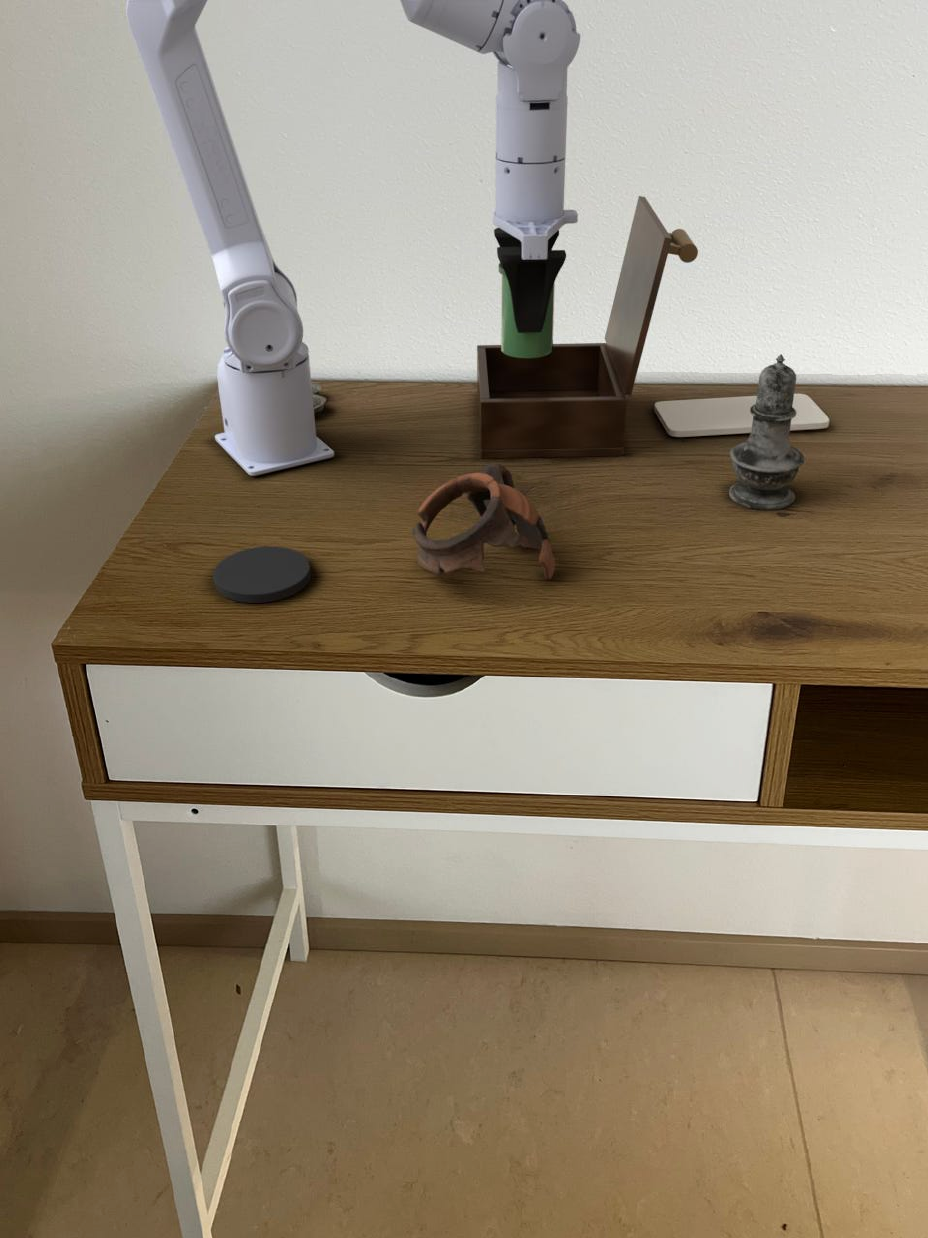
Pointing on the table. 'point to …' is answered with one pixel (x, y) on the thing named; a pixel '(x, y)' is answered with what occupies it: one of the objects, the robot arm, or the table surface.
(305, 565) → the disc
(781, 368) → the salt shaker
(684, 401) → the smartphone
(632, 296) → the lid
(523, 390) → the box
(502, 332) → the green pot
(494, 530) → the broken clay pot rim
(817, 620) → the table surface
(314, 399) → the corroded twin loop
